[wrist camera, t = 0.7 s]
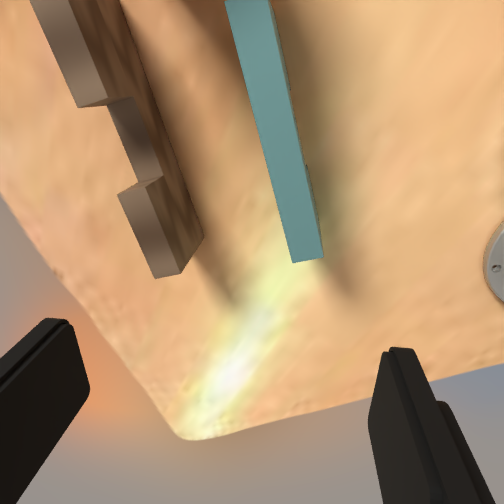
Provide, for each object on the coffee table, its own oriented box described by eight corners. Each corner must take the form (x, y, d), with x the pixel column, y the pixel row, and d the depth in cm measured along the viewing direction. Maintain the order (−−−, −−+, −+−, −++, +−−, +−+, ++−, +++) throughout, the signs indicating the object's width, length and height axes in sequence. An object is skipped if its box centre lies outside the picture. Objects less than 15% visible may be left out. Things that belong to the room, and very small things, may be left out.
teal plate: (244, 23, 28) (224, 1, 20) (274, 12, 27) (264, -14, 20) (294, 226, 34) (292, 263, 27) (319, 221, 34) (323, 257, 27)
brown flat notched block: (90, 5, 28) (19, -22, 21) (116, -6, 28) (52, -38, 21) (183, 241, 37) (154, 278, 30) (204, 237, 36) (180, 273, 29)
